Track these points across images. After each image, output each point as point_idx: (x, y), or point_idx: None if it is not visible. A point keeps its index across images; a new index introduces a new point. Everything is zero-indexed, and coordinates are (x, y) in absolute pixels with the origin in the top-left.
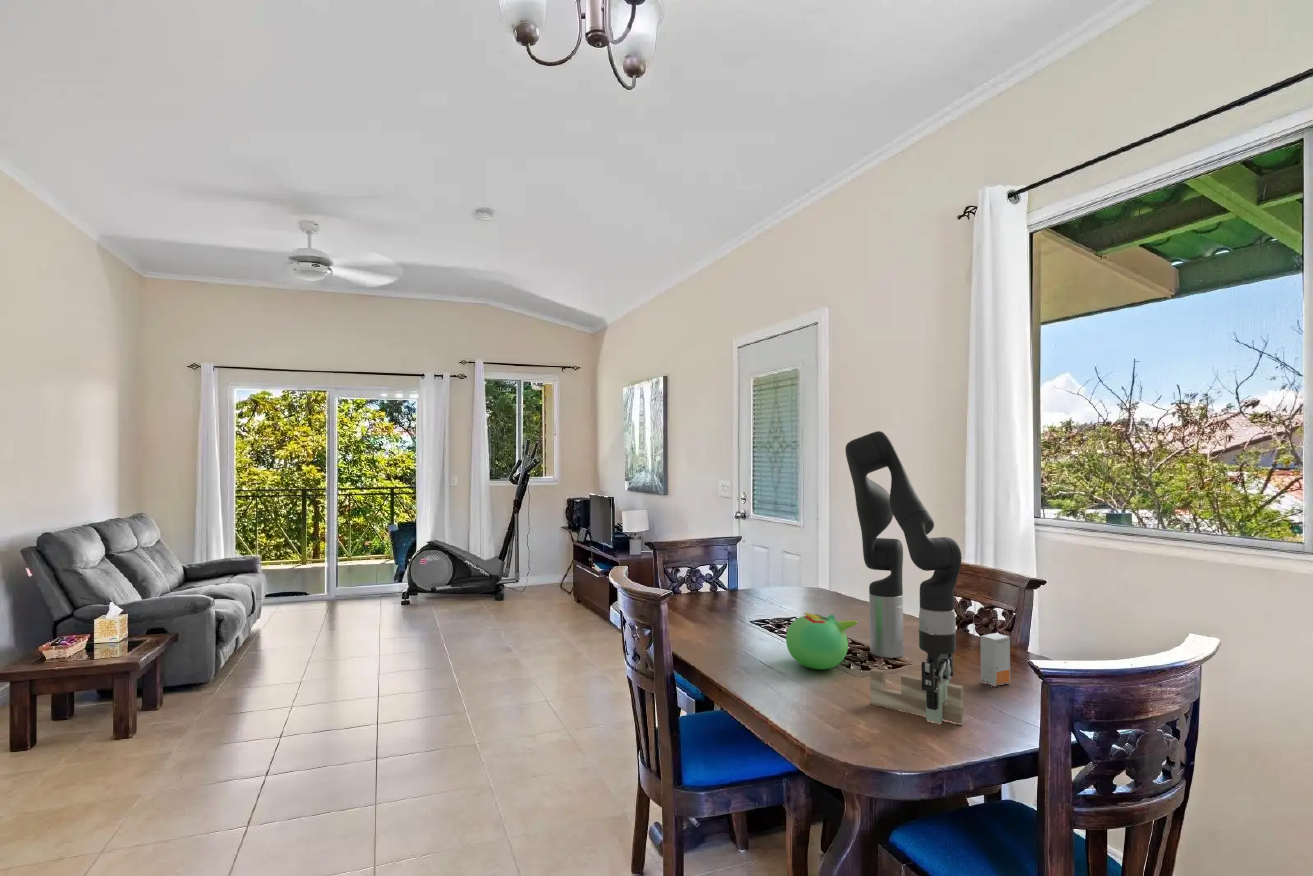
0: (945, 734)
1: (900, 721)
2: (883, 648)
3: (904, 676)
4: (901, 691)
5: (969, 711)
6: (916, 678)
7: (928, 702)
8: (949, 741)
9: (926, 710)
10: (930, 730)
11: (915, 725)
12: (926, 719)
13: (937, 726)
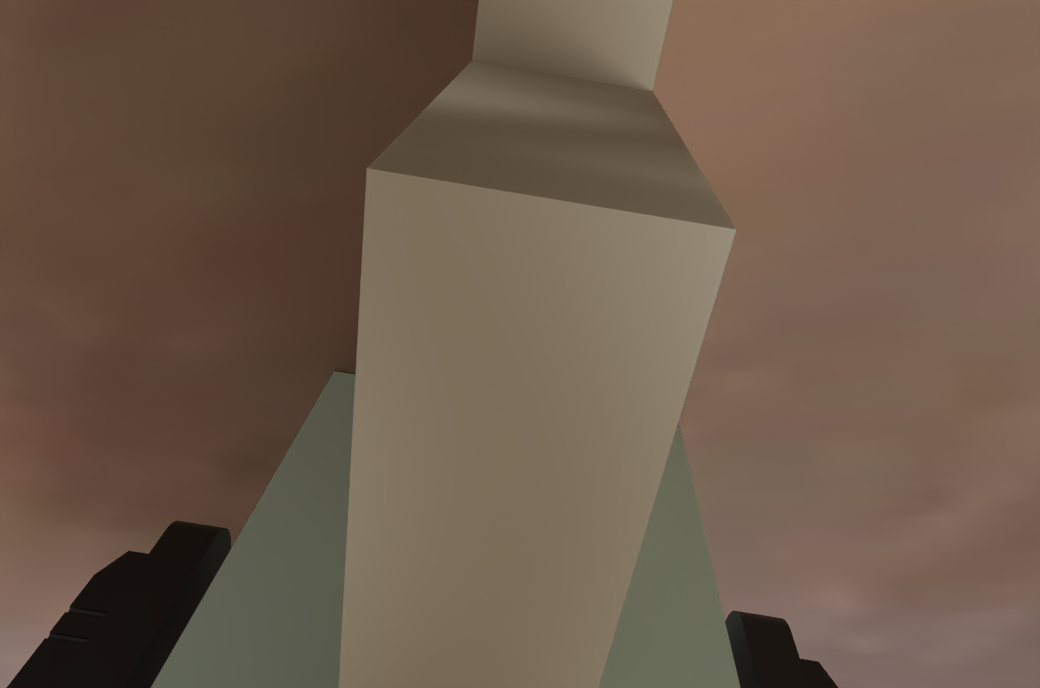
0: (137, 550)
1: (142, 88)
2: None
3: (422, 302)
4: (462, 75)
5: (870, 677)
6: (434, 649)
7: (72, 618)
8: (11, 585)
9: (285, 458)
10: (130, 433)
11: (150, 282)
12: (323, 390)
13: None
